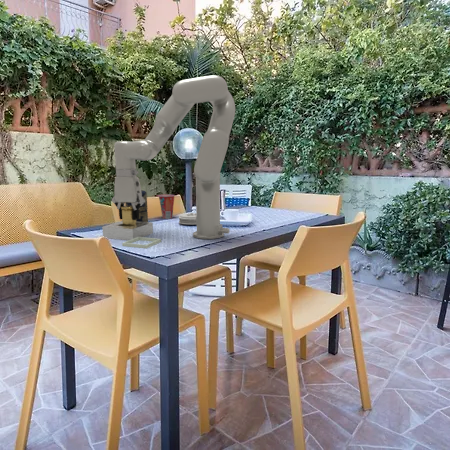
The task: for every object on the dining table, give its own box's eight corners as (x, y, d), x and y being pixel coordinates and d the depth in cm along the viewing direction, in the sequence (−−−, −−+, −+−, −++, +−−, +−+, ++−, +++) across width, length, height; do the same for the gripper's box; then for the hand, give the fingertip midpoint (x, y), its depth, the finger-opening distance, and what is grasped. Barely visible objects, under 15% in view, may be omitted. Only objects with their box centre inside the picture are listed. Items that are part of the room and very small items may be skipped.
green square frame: (161, 243, 132) (161, 238, 132) (146, 249, 123) (146, 245, 122) (138, 240, 135) (138, 236, 135) (122, 247, 126) (122, 242, 126)
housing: (153, 234, 147) (152, 222, 146) (133, 241, 134) (132, 229, 133) (124, 231, 151) (124, 220, 150) (103, 239, 139) (102, 226, 138)
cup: (167, 216, 191) (166, 193, 188) (178, 217, 186) (178, 194, 183) (154, 218, 183) (153, 195, 181) (166, 220, 178) (165, 196, 176)
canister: (142, 231, 153) (140, 189, 149) (122, 230, 155) (120, 189, 151) (151, 226, 162) (149, 187, 159) (132, 226, 164) (130, 187, 160)
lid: (174, 225, 166) (173, 215, 165) (186, 220, 178) (185, 211, 177) (198, 227, 162) (198, 216, 161) (209, 222, 173) (209, 212, 172)
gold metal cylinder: (140, 230, 144) (139, 205, 142) (131, 233, 138) (130, 208, 136) (128, 229, 146) (126, 205, 144) (119, 232, 140) (117, 207, 138)
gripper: (150, 173, 138) (152, 218, 142) (114, 173, 144) (117, 216, 147) (139, 174, 131) (142, 222, 135) (101, 174, 137) (105, 219, 141)
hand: (129, 218), depth 141 cm, fingers closed on gold metal cylinder, 5 cm apart
